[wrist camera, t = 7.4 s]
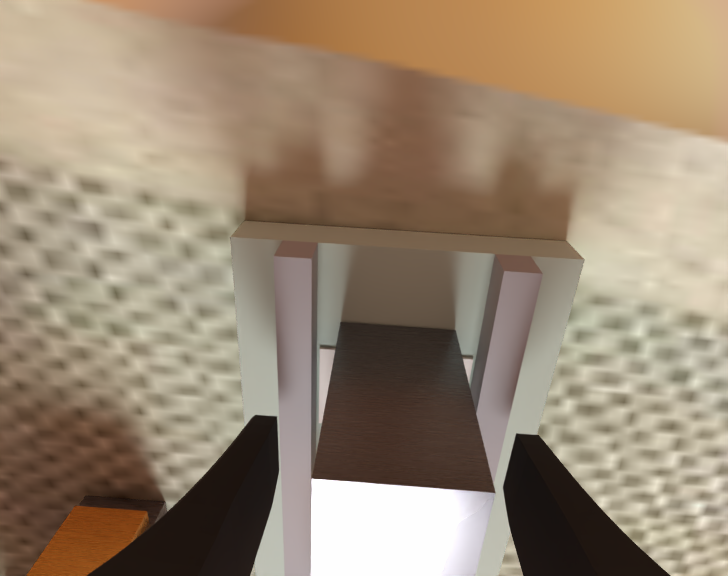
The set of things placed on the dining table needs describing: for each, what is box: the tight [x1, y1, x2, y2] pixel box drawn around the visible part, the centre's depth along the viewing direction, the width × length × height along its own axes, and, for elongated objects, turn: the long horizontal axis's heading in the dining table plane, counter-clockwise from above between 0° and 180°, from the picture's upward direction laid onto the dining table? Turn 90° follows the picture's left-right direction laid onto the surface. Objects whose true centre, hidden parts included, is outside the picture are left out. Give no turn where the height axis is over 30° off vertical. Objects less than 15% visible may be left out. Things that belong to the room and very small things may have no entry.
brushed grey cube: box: [311, 322, 496, 576], centre depth 13 cm, size 5×4×6 cm
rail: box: [230, 221, 584, 576], centre depth 15 cm, size 18×10×8 cm, turn 177°
